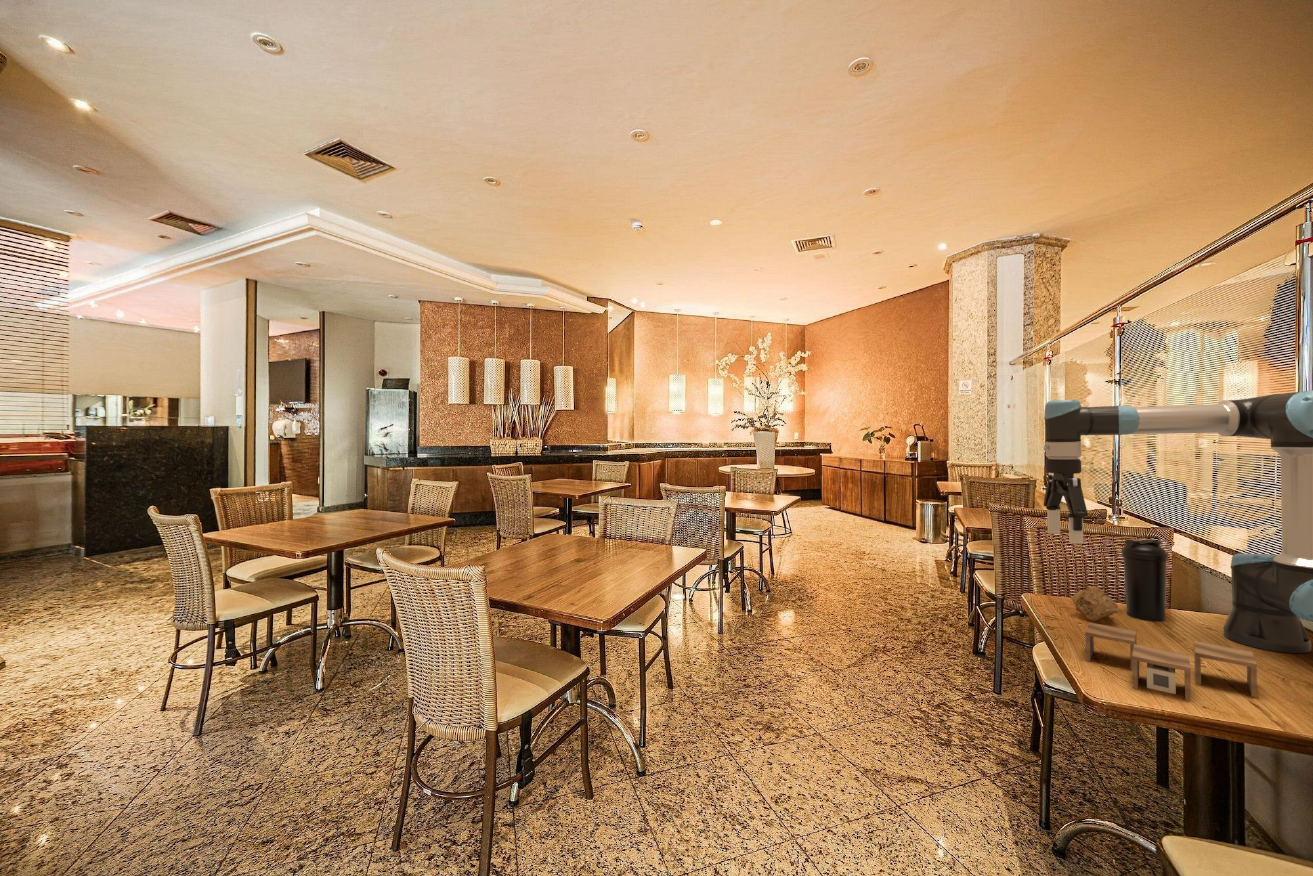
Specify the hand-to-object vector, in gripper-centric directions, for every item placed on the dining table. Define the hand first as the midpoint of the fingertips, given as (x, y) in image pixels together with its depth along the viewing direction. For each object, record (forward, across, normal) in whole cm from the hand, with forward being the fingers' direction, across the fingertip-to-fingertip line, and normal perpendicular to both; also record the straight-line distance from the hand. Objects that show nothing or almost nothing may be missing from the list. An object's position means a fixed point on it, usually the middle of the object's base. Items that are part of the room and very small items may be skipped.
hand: (1064, 538), depth 141 cm
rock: (+28, -24, +17) cm, 40 cm away
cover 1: (+28, +9, +6) cm, 30 cm away
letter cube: (+28, +23, +9) cm, 37 cm away
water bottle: (+28, -30, +31) cm, 51 cm away
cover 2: (+28, +23, +9) cm, 37 cm away
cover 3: (+28, +18, +23) cm, 40 cm away
